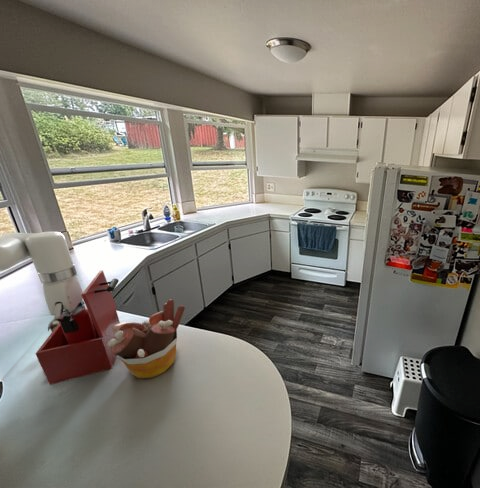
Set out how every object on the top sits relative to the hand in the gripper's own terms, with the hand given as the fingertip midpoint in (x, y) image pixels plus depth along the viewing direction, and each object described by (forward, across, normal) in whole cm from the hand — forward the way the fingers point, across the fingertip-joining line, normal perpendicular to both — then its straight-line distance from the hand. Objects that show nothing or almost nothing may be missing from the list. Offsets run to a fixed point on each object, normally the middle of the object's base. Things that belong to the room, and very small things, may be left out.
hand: (76, 323), depth 79 cm
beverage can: (+7, 0, 0) cm, 7 cm away
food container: (+14, -14, -6) cm, 21 cm away
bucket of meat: (+14, +12, +20) cm, 28 cm away
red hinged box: (+14, 0, 0) cm, 14 cm away
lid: (-6, 0, +7) cm, 9 cm away
